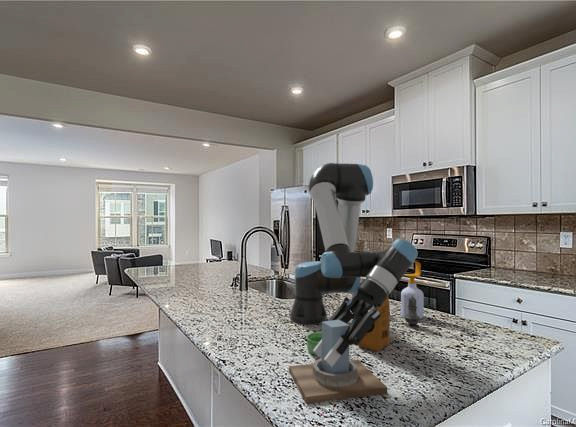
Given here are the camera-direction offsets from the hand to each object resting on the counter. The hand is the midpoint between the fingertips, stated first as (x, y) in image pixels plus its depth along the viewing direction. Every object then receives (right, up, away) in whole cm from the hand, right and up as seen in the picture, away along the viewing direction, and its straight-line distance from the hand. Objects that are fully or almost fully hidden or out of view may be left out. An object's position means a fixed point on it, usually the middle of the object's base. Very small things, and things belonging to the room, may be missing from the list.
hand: (322, 358), depth 83 cm
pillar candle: (+25, -9, +69) cm, 74 cm away
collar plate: (+3, -7, +1) cm, 7 cm away
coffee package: (+20, -8, +28) cm, 35 cm away
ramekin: (+2, -7, +22) cm, 23 cm away
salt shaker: (+40, -8, +47) cm, 62 cm away
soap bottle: (+45, -9, +60) cm, 76 cm away
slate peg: (+3, -4, +1) cm, 5 cm away
